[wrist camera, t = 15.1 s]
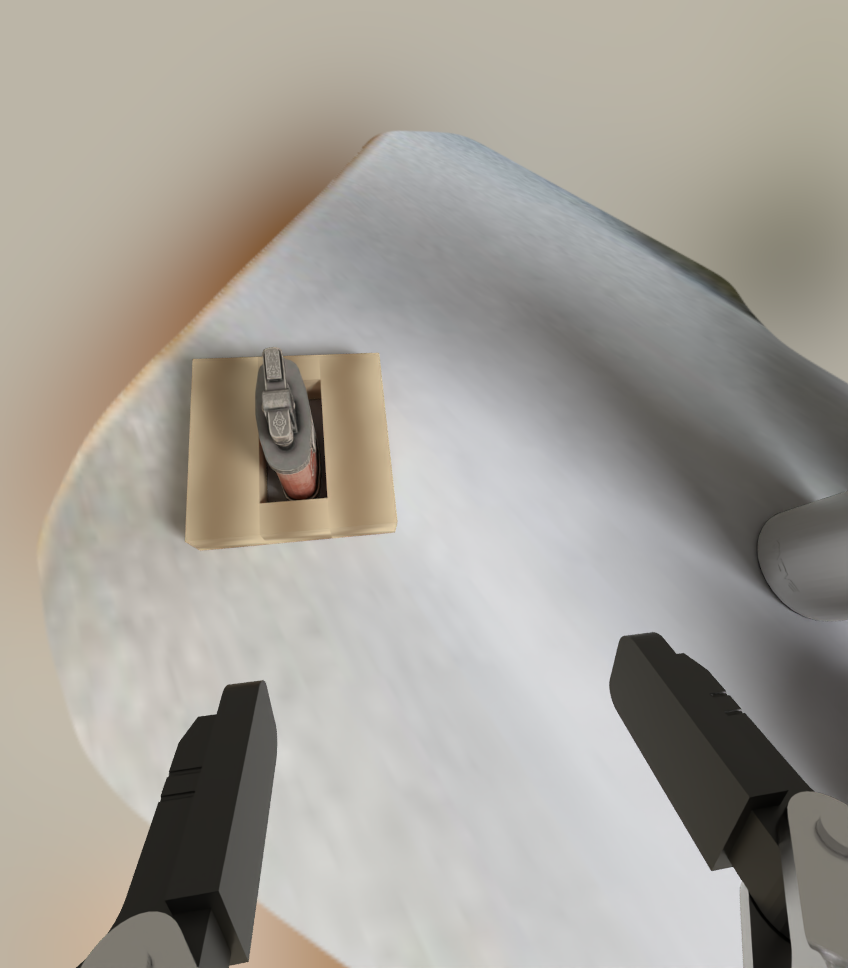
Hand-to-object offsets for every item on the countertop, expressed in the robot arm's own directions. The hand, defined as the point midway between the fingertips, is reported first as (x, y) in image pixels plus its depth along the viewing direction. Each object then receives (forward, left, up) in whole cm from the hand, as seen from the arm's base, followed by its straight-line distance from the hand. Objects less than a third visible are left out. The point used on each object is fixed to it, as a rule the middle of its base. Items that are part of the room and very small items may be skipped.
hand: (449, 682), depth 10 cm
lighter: (+6, -16, -24) cm, 29 cm away
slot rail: (+6, -16, -23) cm, 29 cm away
